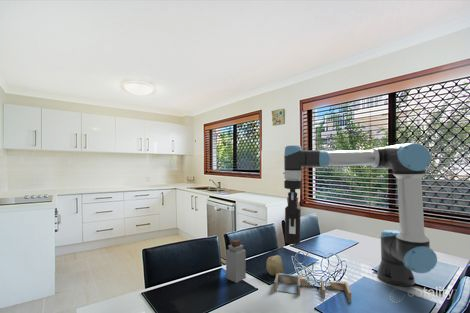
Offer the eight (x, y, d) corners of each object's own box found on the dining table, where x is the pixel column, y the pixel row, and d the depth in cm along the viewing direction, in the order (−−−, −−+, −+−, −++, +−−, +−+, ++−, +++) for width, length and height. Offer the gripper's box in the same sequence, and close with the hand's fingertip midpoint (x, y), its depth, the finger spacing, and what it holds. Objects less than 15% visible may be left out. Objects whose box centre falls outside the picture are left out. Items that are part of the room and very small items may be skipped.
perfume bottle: (245, 277, 120) (245, 240, 121) (236, 282, 115) (236, 244, 116) (235, 273, 125) (235, 237, 125) (226, 278, 120) (226, 241, 120)
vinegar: (303, 243, 108) (303, 198, 108) (289, 245, 106) (289, 198, 106) (295, 239, 114) (295, 196, 115) (282, 240, 112) (282, 196, 113)
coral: (291, 264, 119) (272, 256, 119) (282, 283, 119) (263, 275, 119) (287, 255, 128) (269, 248, 128) (279, 272, 129) (262, 265, 129)
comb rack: (346, 289, 109) (346, 280, 109) (351, 302, 99) (351, 291, 99) (276, 280, 117) (276, 272, 117) (274, 291, 107) (274, 282, 107)
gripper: (285, 178, 121) (285, 225, 120) (282, 181, 102) (282, 236, 102) (301, 178, 119) (301, 226, 118) (301, 181, 101) (301, 238, 100)
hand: (292, 231), depth 110 cm, fingers closed on vinegar, 6 cm apart
